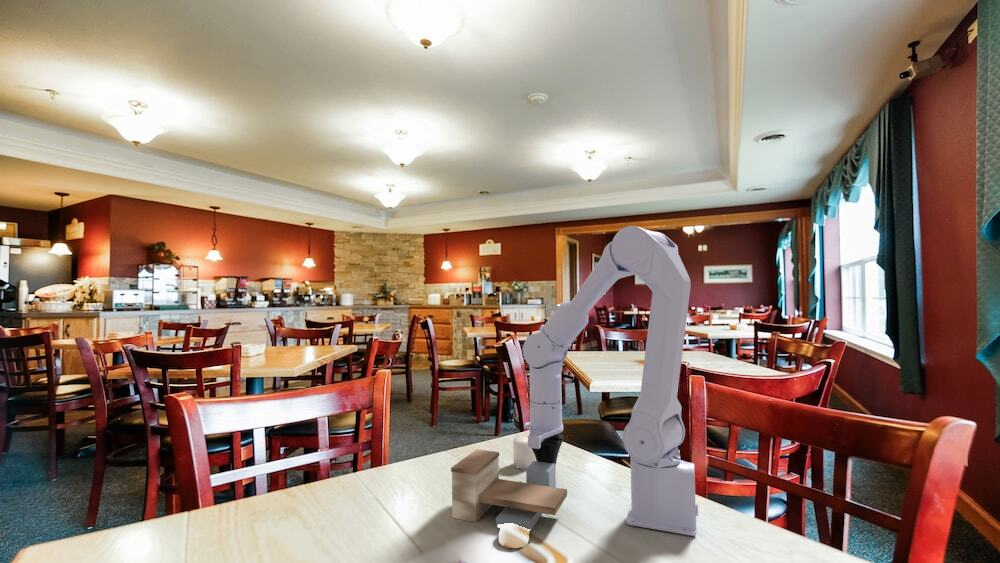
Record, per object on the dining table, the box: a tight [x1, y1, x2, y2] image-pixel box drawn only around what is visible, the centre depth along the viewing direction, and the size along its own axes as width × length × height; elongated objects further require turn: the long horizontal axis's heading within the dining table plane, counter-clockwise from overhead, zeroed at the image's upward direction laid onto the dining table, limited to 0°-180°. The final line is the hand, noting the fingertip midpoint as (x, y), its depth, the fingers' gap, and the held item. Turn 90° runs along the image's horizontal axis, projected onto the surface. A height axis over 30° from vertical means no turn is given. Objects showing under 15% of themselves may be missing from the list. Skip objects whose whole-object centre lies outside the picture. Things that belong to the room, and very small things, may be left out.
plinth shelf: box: [450, 449, 568, 523], centre depth 72 cm, size 16×9×8 cm, turn 67°
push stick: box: [495, 461, 557, 529], centre depth 74 cm, size 5×16×4 cm, turn 157°
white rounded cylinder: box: [512, 436, 536, 470], centre depth 93 cm, size 5×5×5 cm
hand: (546, 477), depth 83 cm, fingers closed
